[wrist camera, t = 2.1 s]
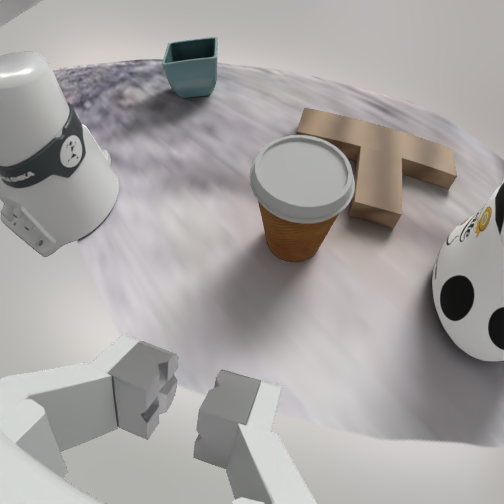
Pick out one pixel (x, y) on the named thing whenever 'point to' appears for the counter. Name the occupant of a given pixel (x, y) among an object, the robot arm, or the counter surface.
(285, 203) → the disposable coffee cup
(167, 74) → the flower pot
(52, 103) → the robot arm
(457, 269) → the milk container
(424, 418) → the counter surface
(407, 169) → the walnut T block
